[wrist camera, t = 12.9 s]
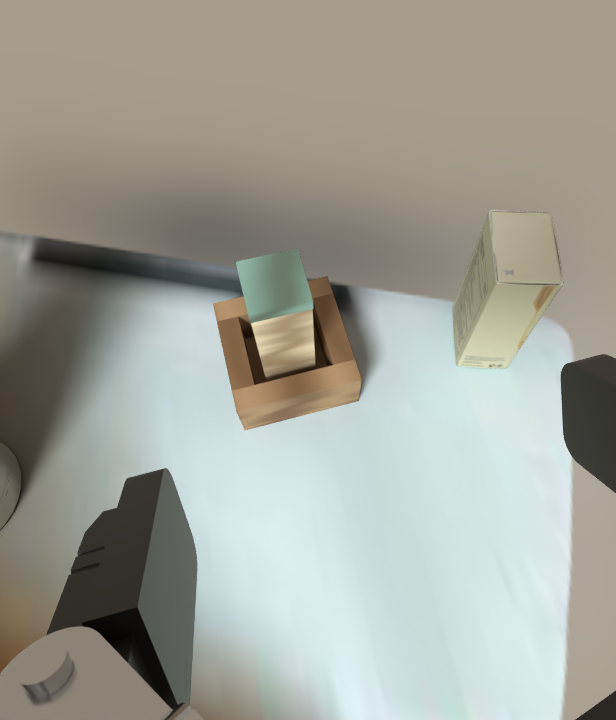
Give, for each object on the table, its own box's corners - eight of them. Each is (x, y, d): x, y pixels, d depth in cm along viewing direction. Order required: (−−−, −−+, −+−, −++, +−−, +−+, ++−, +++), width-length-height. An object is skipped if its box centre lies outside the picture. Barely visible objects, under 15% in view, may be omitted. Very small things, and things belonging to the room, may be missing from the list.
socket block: (244, 430, 43) (236, 411, 39) (222, 329, 47) (212, 303, 43) (358, 400, 44) (361, 379, 40) (327, 304, 48) (327, 276, 44)
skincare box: (507, 370, 44) (567, 290, 33) (454, 367, 45) (495, 287, 34) (501, 303, 47) (554, 209, 36) (451, 301, 47) (488, 207, 36)
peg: (268, 389, 44) (248, 315, 33) (258, 346, 46) (235, 261, 35) (316, 377, 44) (313, 300, 33) (304, 335, 46) (297, 248, 35)
